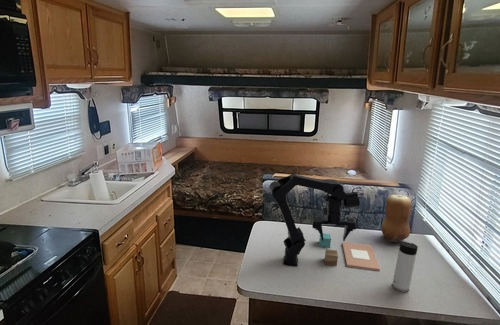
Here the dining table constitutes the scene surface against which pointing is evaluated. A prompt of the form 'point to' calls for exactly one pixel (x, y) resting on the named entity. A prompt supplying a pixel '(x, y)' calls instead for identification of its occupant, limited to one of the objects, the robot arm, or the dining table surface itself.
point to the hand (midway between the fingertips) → (333, 240)
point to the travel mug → (404, 266)
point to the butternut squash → (397, 218)
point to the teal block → (325, 241)
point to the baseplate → (360, 256)
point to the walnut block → (331, 257)
